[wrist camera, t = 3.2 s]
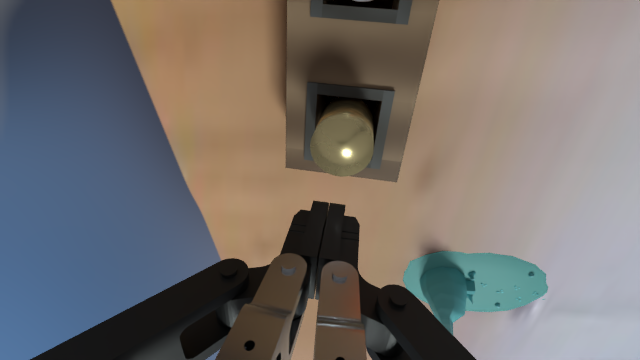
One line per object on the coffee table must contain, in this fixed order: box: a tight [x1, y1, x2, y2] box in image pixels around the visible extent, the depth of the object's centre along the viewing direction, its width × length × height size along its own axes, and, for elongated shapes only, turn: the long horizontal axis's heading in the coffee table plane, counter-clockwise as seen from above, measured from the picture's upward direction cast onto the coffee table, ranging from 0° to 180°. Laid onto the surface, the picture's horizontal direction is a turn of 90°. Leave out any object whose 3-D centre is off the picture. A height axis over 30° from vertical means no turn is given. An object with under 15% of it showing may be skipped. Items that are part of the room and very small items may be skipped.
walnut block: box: [286, 0, 439, 182], centre depth 24 cm, size 20×10×6 cm, turn 176°
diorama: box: [403, 251, 548, 335], centre depth 35 cm, size 12×20×9 cm, turn 91°
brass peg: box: [310, 97, 374, 176], centre depth 23 cm, size 4×4×6 cm
